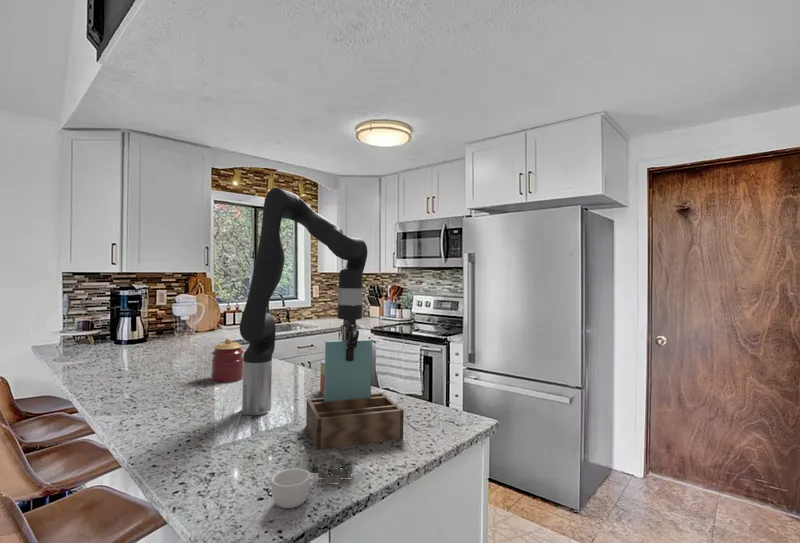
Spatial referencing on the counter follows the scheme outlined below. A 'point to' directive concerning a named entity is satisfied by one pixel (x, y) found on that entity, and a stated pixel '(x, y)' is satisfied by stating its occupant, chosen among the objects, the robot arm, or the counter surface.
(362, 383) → the teal board
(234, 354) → the canister
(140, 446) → the counter surface
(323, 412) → the rack
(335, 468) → the egg carton
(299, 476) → the teacup
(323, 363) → the canned food
